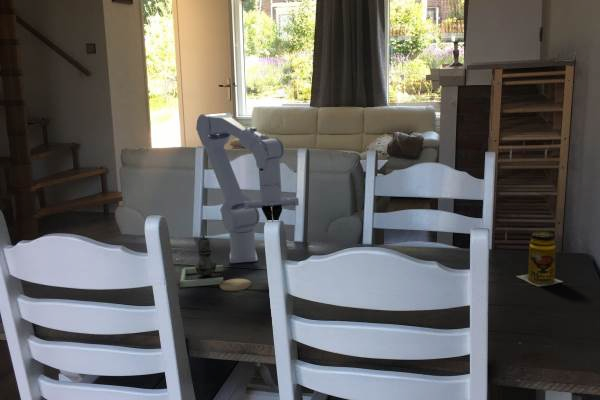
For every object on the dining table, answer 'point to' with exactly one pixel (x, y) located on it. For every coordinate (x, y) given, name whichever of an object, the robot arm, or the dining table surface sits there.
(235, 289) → the cork coaster
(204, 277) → the salt shaker
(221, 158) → the robot arm
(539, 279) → the condiment
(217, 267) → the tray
